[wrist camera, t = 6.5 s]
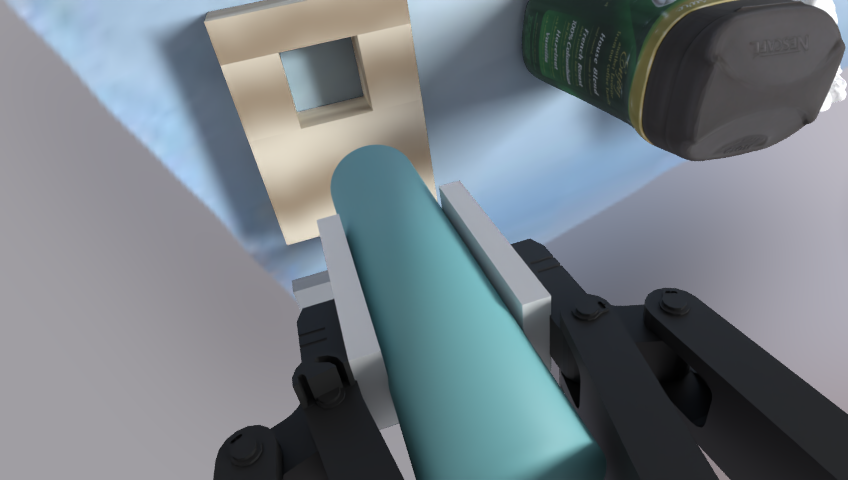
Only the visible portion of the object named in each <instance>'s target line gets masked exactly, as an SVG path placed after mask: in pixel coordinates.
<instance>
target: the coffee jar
mask: <svg viewBox="0 0 848 480" xmlns="http://www.w3.org/2000/svg"><path fill="white" fill-rule="evenodd" d="M522 49H523V58H524V62H525V65H526V67H527V68H528V70H529V71H530V72H531V73H532V74H533V75H534V76H535V77H537V78H539V79H541V80H542V81H544V82H546V83H548V84H550V85H552V86H554V87H556V88H558V89H560V90H562V91H565V92H567V93H569V94H571V95H573V96H576V97H578V98H580V99H582V100H584V101H586V102H588V103H589V104H591V105H593V106H595V107H597V108H599V109H601V110H603V111H605V112H607V113H609V114H611V115H613V116H615V117H617V118H619V119H620V120H622V121H624V122H626V123H628V124H629V125H631V126H632V127H633V128H635V130H636V131H637V132H638V134H639V135H640V136H641V137H642V138H643V139H645V140H646V141H647V142H649V143H650V144H652V145H654V146H656V147H658V148H661V149H663V150H666V151H668V152H671V153H673V154H675V155H677V156H679V157H681V158H684V159H687V160H691V161H705V160H711V159H720V158H726V157H731V156H736V155H741V154H744V153H749V152H752V151H757V150H761V149H764V148H767V147H770V146H772V145H774V144H776V143H778V142H780V141H782V140H784V139H786V138H787V137H789V136H790V135H792V134H794V133H795V132H797V131H798V130H799V129H801V128H802V127H803V126H805V125H806V124H809V123H811V122H813V121H814V120H815V119H816V118H817V115H818V113H819V111H820V109H821V107H822V105H823V103H824V101H825V99H826V97H827V95H828V92H829V90H830V88H831V85H832V83H833V81H834V78H835V76H836V73H837V71H838V68H839V65H840V63H841V60H842V57H843V54H844V51H845V44H844V42H843V40H842V38H841V34H840V31H839V28H838V26H837V24H836V22H835V21H834V19H833V18H832V17H831V16H830V15H829V14H828V13H827V12H826V11H824V10H822V9H820V8H818V7H815V6H812V5H808V4H804V3H803V2H802V1H794V0H529V2H528V4H527V7H526V12H525V17H524V24H523V33H522Z"/></svg>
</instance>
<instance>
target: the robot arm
mask: <svg viewBox="0 0 848 480" xmlns="http://www.w3.org/2000/svg"><path fill="white" fill-rule="evenodd" d="M439 190H440V197H441V204H442V210H443V211H444V213H445V214H446V216H447V217H448V219H449V220H450V222H451V223H452V225H453V226H454V228H455V229H456V231H457V232H458V234H459V235H460V237H461V238H462V240H463V242H464V243H465V245H466V246H467V248H468V249H469V251H470V252H471V254H472V255H473V257H474V258H475V260H476V261H477V263H478V264H479V266H480V267H481V269H482V270H483V272H484V273H485V275H486V276H487V278H488V279H489V281H490V282H491V284H492V285H493V287H494V288H495V290H496V291H497V293H498V294H499V296H500V297H501V299H502V300H503V302H504V303H505V305H506V306H507V308H508V309H509V311H510V312H511V314H512V315H513V317H514V318H515V320H516V321H517V323H518V324H519V326H520V327H521V329H522V330H523V332H524V333H525V335H526V336H527V338H528V339H529V341H530V342H531V344H532V345H533V347H534V348H535V350H536V351H537V353H538V354H539V356H540V357H541V359H542V360H543V362H544V364H545V365H546V367H547V368H548V370H549V371H551V357H552V358H553V360H554V361H555V363H556V364H557V365H558V367H559V386H560V388H561V389H562V391H563V392H564V393H565V395H566V397H567V398H568V400H569V401H570V403H571V404H572V406H573V407H574V409H575V410H576V412H577V413H578V415H579V416H580V418H581V419H582V421H583V422H584V424H585V425H586V427H587V428H588V430H589V431H590V433H591V434H592V436H593V437H594V439H595V440H596V442H597V443H598V445H599V446H600V448H601V449H602V451H603V453H604V454H605V457H606V461H607V468H606V474H605V477H604V480H719V479H718V477H717V475H716V474H715V472H714V471H713V469H712V467H711V466H710V464H709V462H708V461H707V459H706V458H705V456H704V454H703V453H702V451H701V450H700V448H699V446H700V447H701V448H702V450H703V451H704V452H705V453H706V454H707V455H708V456H709V457H710V458H711V459H712V460H713V461H714V462H715V463H716V464H717V466H718V467H719V468H720V469H721V470H722V471H723V472H724V473H725V474H726V475H727V476H728V477H729V479H731V480H848V414H847V413H845V412H844V411H843V410H841V409H840V408H839V407H837V406H836V405H835V404H834V403H832V402H831V401H830V400H829V399H827V398H826V397H825V396H823V395H822V394H820V392H818V391H817V390H816V389H814V388H813V387H812V386H810V385H809V384H808V383H807V382H805V381H804V380H803V379H801V378H800V377H799V376H798V375H796V374H795V373H794V372H792V371H791V370H790V369H788V368H787V367H786V366H785V365H783V364H782V363H781V362H779V361H778V360H777V359H775V358H774V357H773V356H772V355H770V354H769V353H768V352H766V351H765V350H764V349H763V348H761V347H760V346H758V345H757V344H756V343H755V342H754V341H752V340H751V339H750V338H748V337H747V336H746V335H744V334H743V333H742V332H741V331H739V330H738V329H737V328H735V327H734V326H733V325H732V324H730V323H729V322H727V321H726V320H725V319H724V318H722V317H721V316H720V315H718V314H717V313H716V312H715V311H713V310H712V309H711V308H709V307H708V306H707V305H706V304H704V303H703V302H702V301H700V300H699V299H698V298H697V297H695V296H693V295H692V294H690V293H688V292H686V291H683V290H679V289H676V288H662V289H657V290H654V291H653V292H651V293H650V294H648V296H647V298H646V300H645V304H644V305H630V306H613V305H610V304H609V303H608V302H607V301H606V300H605V299H603V298H601V297H599V296H595V295H590V294H587V293H586V292H585V291H584V290H583V289H582V288H581V287H580V286H579V284H578V283H577V282H576V281H575V280H574V279H573V278H572V277H571V276H570V274H569V273H568V272H567V271H566V270H565V269H564V268H563V266H560V263H559V262H558V261H557V260H556V259H555V258H553V255H552V254H551V253H550V252H549V251H548V250H547V249H546V247H545V246H544V245H542V244H540V243H538V242H536V241H534V240H532V239H527V240H524V241H520V242H517V243H514V244H510V243H509V242H508V241H507V240H506V238H505V237H504V236H503V235H502V233H501V232H500V231H499V230H498V228H497V227H496V226H495V224H494V223H493V222H492V221H491V219H490V218H489V217H488V216H487V214H486V213H485V212H484V211H483V209H482V208H481V207H480V206H479V204H478V203H477V202H476V201H475V199H474V198H473V197H472V196H471V194H470V193H469V192H468V190H467V189H466V188H465V187H464V185H463V184H462V183H461V182H460V181H456V182H452V183H449V184H445V185H442V186H439ZM317 225H318V229H319V233H320V238H321V242H322V247H323V251H324V255H325V260H326V264H327V269H328V273H329V277H330V282H331V286H332V291H333V295H334V299H332V300H328V301H325V302H322V303H318V304H315V305H312V306H308V307H305V308H302V311H301V313H300V316H299V318H298V321H297V327H298V335H299V344H300V352H301V360H302V363H301V364H300V365H299V366H298V367H297V368H296V370H295V372H294V375H293V377H292V381H293V382H292V383H293V388H294V390H295V393H296V395H297V397H298V399H299V401H300V405H299V407H298V408H297V409H296V410H295V411H294V412H293V413H292V415H290V416H289V417H288V418H286V419H285V420H284V421H282V422H280V423H279V424H277V425H276V426H274V427H273V428H271V429H269V428H268V427H264V426H261V425H254V426H247V427H245V428H243V429H241V430H239V431H236V432H235V433H234V434H233V435H231V436H230V437H229V438H228V439H227V440H226V441H225V442H224V444H223V445H222V447H221V448H220V449H219V452H218V455H217V458H216V462H215V470H214V479H213V480H404V479H403V476H402V474H401V472H400V471H399V468H398V466H397V464H396V462H395V460H394V459H393V457H392V455H391V453H390V451H389V449H388V447H387V445H386V443H385V441H384V439H383V437H382V435H381V433H380V431H379V430H381V429H384V428H387V427H390V426H393V425H396V424H399V421H398V417H397V414H396V411H395V407H394V404H393V401H392V397H391V394H390V390H389V385H388V375H387V372H386V368H385V364H384V361H383V357H382V354H381V350H380V347H379V344H378V340H377V337H376V334H375V331H374V327H373V324H372V321H371V318H370V314H369V311H368V308H367V305H366V301H365V298H364V295H363V291H362V288H361V285H360V282H359V278H358V275H357V272H356V269H355V265H354V262H353V259H352V255H351V252H350V249H349V246H348V242H347V239H346V236H345V233H344V229H343V226H342V223H341V220H340V216H339V214H336V215H333V216H329V217H325V218H322V219H318V220H317ZM697 444H698V445H699V446H698V445H697Z"/></svg>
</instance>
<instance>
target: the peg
mask: <svg viewBox="0 0 848 480" xmlns="http://www.w3.org/2000/svg"><path fill="white" fill-rule="evenodd" d="M330 190H331V196H332V200H333V203H334V207H335V210H336V213H337V214H339V216H340V220H341V223H342V226H343V229H344V233H345V236H346V239H347V242H348V246H349V249H350V252H351V255H352V259H353V262H354V265H355V269H356V272H357V275H358V278H359V282H360V285H361V288H362V291H363V295H364V298H365V301H366V305H367V308H368V311H369V314H370V318H371V321H372V324H373V327H374V331H375V334H376V337H377V340H378V344H379V347H380V350H381V354H382V357H383V361H384V364H385V368H386V372H387V375H388V385H389V390H390V394H391V397H392V401H393V404H394V407H395V411H396V414H397V417H398V421H399V424H400V427H401V431H402V434H403V437H404V441H405V444H406V447H407V451H408V454H409V457H410V460H411V464H412V468H413V471H414V474H415V477H416V480H604V477H605V474H606V468H607V461H606V457H605V454H604V453H603V451H602V449H601V448H600V446H599V445H598V443H597V442H596V440H595V439H594V437H593V436H592V434H591V433H590V431H589V430H588V428H587V427H586V425H585V424H584V422H583V421H582V419H581V418H580V416H579V415H578V413H577V412H576V410H575V409H574V407H573V406H572V404H571V403H570V401H569V400H568V398H567V397H566V395H565V394H564V392H563V391H562V389H561V388H560V386H559V385H558V383H557V382H556V380H555V379H554V377H553V376H552V374H551V373H550V371H549V370H548V368H547V367H546V365H545V364H544V362H543V360H542V359H541V357H540V356H539V354H538V353H537V351H536V350H535V348H534V347H533V345H532V344H531V342H530V341H529V339H528V338H527V336H526V335H525V333H524V332H523V330H522V329H521V327H520V326H519V324H518V323H517V321H516V320H515V318H514V317H513V315H512V314H511V312H510V311H509V309H508V308H507V306H506V305H505V303H504V302H503V300H502V299H501V297H500V296H499V294H498V293H497V291H496V290H495V288H494V287H493V285H492V284H491V282H490V281H489V279H488V278H487V276H486V275H485V273H484V272H483V270H482V269H481V267H480V266H479V264H478V263H477V261H476V260H475V258H474V257H473V255H472V254H471V252H470V251H469V249H468V248H467V246H466V245H465V243H464V242H463V240H462V238H461V237H460V235H459V234H458V232H457V231H456V229H455V228H454V226H453V225H452V223H451V222H450V220H449V219H448V217H447V216H446V214H445V213H444V211H443V210H442V208H441V207H440V205H439V204H438V202H437V201H436V199H435V198H434V196H433V195H432V193H431V192H430V190H429V189H428V187H427V186H426V184H425V183H424V181H423V180H422V178H421V177H420V175H419V174H418V172H417V171H416V169H415V168H414V166H413V165H412V163H411V162H410V160H409V159H408V158H407V157H406V156H405V155H404V154H403V153H402V152H400V151H399V150H397V149H395V148H393V147H390V146H386V145H368V146H364V147H361V148H358V149H356V150H354V151H352V152H351V153H349V154H348V155H346V156H345V157H344V158H343V159H342V160H341V161H340V162H339V164H338V165H337V167H336V169H335V170H334V173H333V175H332V179H331V185H330Z"/></svg>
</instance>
